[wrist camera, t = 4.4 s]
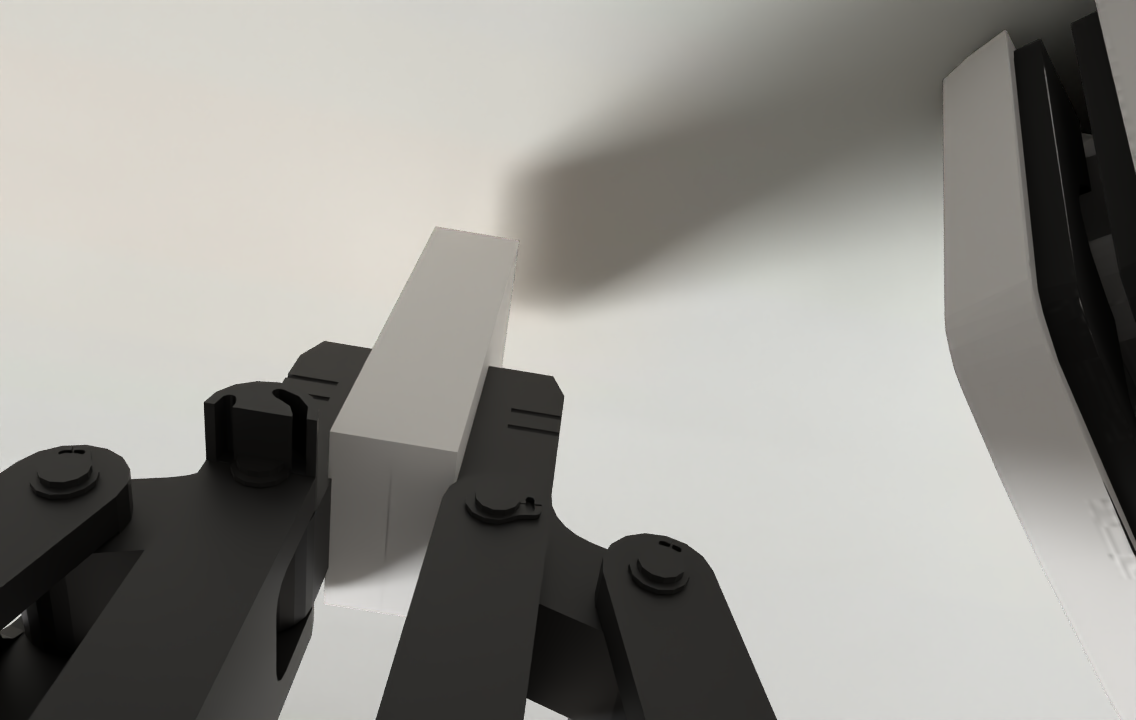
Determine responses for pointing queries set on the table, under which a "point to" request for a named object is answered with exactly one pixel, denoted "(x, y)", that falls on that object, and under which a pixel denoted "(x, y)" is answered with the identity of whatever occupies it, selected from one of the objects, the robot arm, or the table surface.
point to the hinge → (1053, 311)
